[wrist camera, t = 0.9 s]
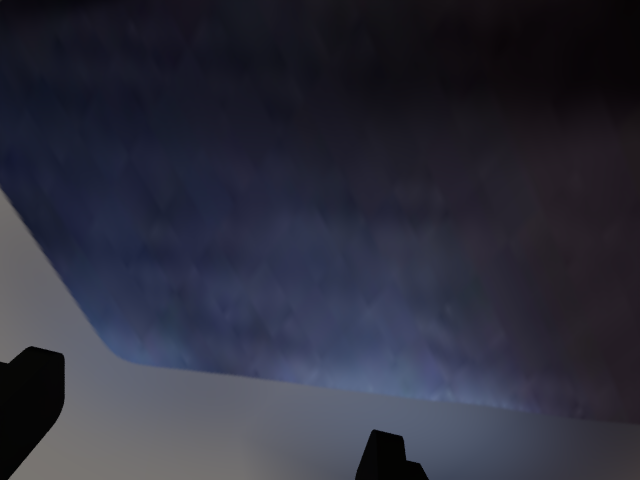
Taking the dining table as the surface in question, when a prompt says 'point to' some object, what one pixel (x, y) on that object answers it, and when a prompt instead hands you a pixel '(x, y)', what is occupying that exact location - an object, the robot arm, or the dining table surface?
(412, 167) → the dining table surface
